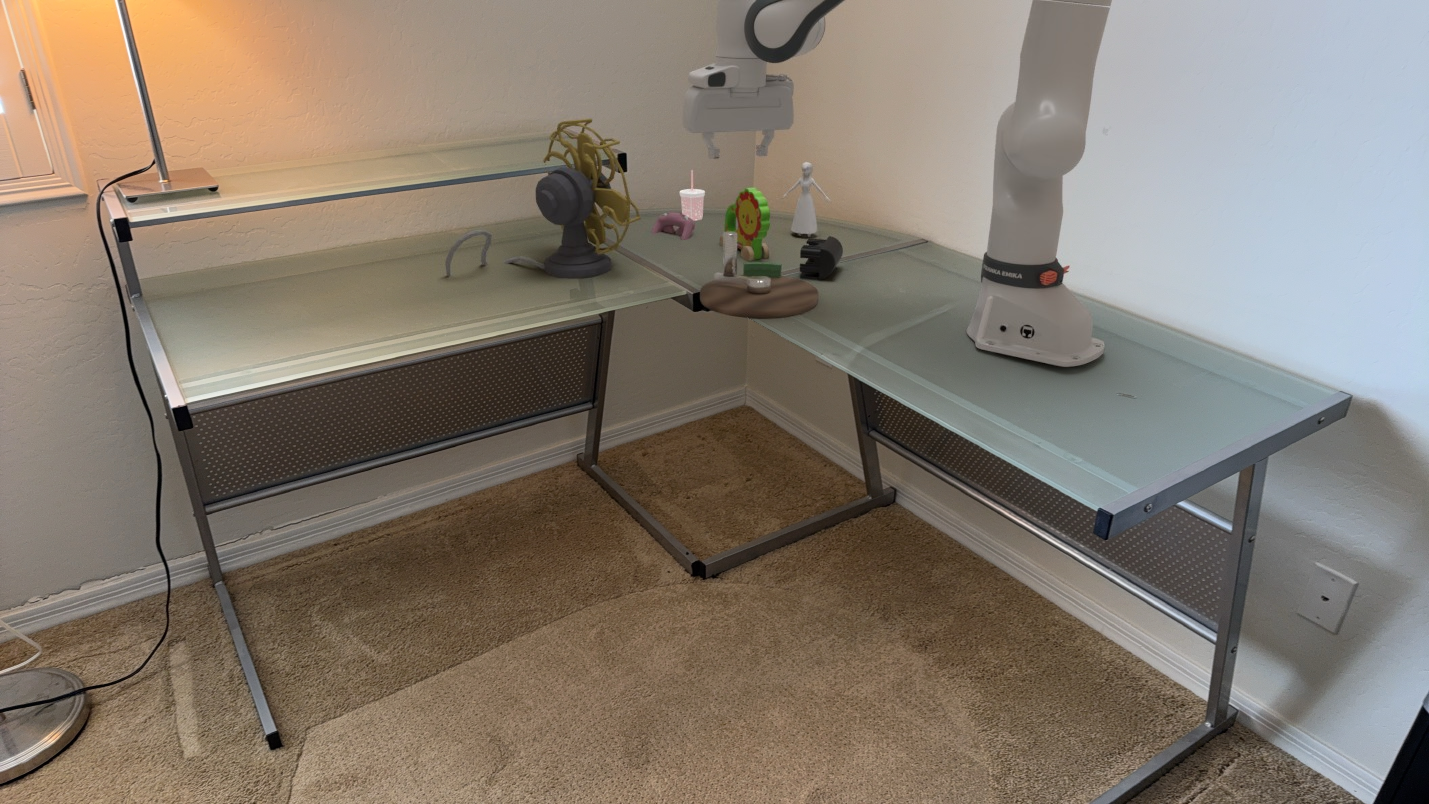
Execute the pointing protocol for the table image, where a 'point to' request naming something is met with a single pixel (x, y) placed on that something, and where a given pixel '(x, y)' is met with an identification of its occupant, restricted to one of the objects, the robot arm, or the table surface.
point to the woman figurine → (805, 204)
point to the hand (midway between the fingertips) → (737, 157)
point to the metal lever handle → (730, 268)
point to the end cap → (820, 258)
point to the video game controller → (674, 224)
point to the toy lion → (749, 223)
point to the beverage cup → (692, 202)
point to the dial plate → (760, 295)
